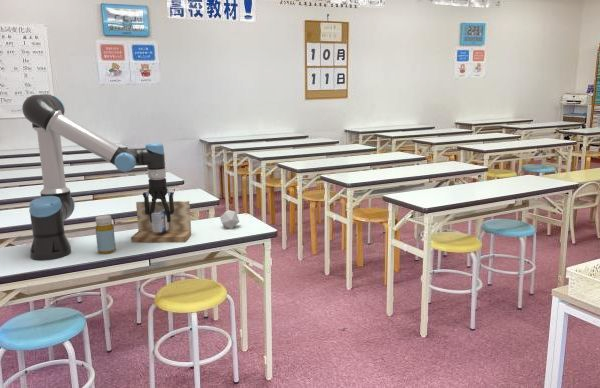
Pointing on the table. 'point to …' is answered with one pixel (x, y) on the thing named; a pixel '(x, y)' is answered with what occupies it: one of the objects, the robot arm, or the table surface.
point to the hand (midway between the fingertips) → (161, 229)
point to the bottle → (105, 234)
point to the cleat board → (177, 225)
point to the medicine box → (158, 220)
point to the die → (229, 219)
